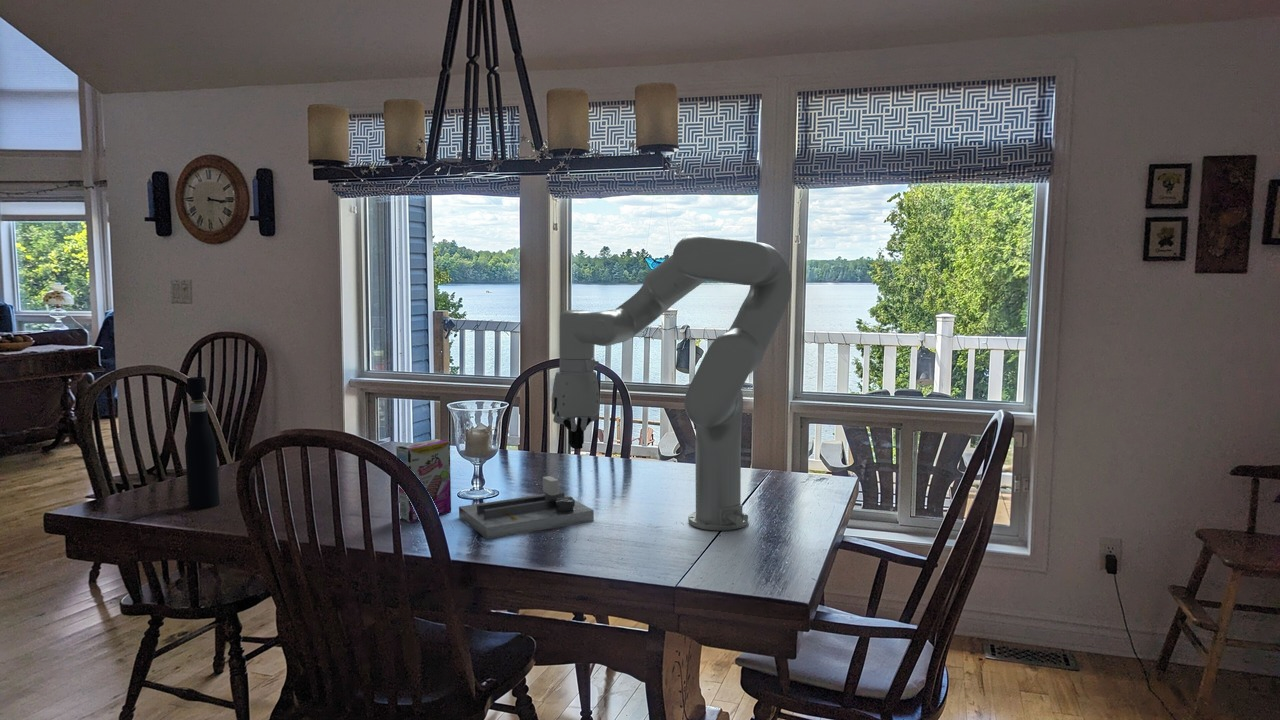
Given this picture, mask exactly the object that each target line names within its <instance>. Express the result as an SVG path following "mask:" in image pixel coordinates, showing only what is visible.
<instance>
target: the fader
mask: <svg viewBox="0 0 1280 720" xmlns="http://www.w3.org/2000/svg"><path fill="white" fill-rule="evenodd" d="M559 489H560V488H559V479H557V478H555V477H553V476H551V475H549V476H543V477H542V491H543V492H544V494H545V500H550V499H557V495H559V492H560V491H559Z"/></svg>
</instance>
